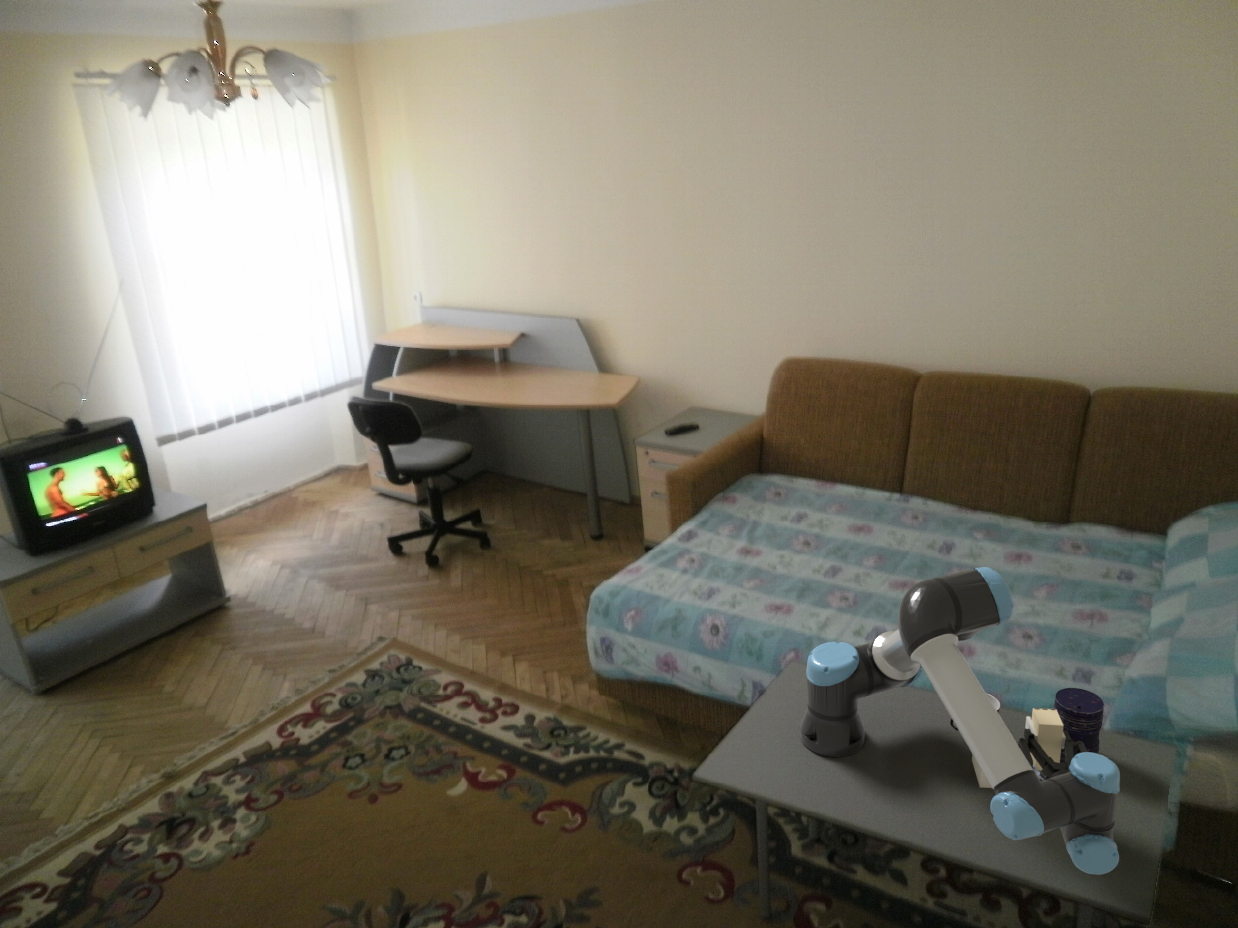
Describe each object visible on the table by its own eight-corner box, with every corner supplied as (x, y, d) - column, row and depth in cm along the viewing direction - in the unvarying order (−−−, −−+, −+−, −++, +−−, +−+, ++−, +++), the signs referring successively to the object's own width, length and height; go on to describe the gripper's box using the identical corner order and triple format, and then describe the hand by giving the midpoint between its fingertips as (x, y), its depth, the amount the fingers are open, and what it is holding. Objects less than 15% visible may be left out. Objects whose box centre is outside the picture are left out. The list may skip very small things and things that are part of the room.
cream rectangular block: (1034, 769, 182) (1039, 723, 178) (1028, 752, 187) (1032, 707, 183) (1058, 771, 181) (1063, 724, 177) (1051, 754, 186) (1056, 708, 182)
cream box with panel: (980, 787, 194) (983, 744, 191) (972, 760, 203) (974, 718, 199) (1001, 788, 194) (1005, 745, 190) (992, 761, 202) (996, 719, 198)
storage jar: (1050, 738, 208) (1055, 683, 203) (1097, 748, 204) (1104, 692, 199) (1047, 764, 200) (1053, 707, 195) (1097, 775, 195) (1104, 717, 190)
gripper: (1019, 811, 167) (995, 735, 189) (1121, 819, 164) (1085, 740, 185) (1022, 778, 165) (997, 704, 186) (1126, 785, 161) (1088, 709, 183)
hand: (1041, 722), depth 186 cm, fingers closed on cream rectangular block, 4 cm apart
